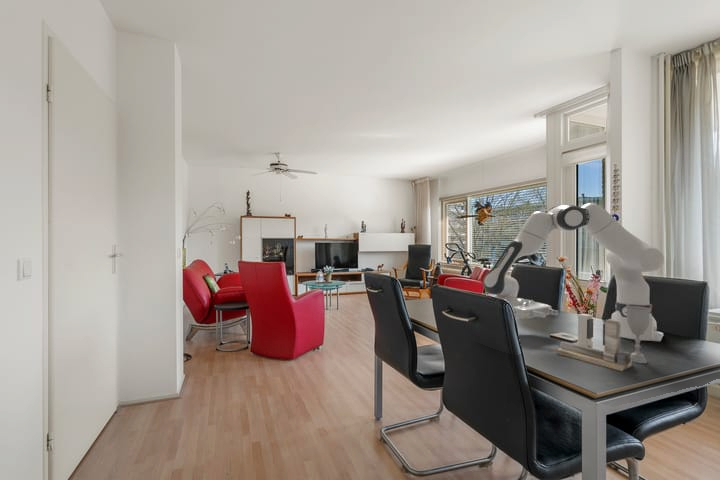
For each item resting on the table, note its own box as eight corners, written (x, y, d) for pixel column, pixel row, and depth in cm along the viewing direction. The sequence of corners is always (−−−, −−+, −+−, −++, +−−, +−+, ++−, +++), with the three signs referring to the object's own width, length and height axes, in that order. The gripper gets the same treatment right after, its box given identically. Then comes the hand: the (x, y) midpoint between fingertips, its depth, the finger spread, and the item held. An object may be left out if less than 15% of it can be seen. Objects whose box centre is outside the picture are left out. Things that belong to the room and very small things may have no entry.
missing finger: (583, 346, 134) (584, 313, 134) (594, 348, 131) (594, 314, 131) (576, 349, 131) (577, 314, 131) (587, 351, 128) (587, 316, 128)
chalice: (619, 357, 122) (619, 305, 122) (637, 356, 123) (638, 305, 123) (637, 364, 115) (637, 309, 115) (656, 364, 115) (657, 309, 115)
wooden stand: (567, 349, 130) (567, 310, 130) (631, 366, 113) (632, 321, 113) (556, 353, 125) (556, 313, 125) (621, 371, 109) (622, 324, 109)
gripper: (505, 302, 147) (537, 308, 136) (532, 299, 158) (563, 304, 147) (504, 317, 147) (537, 324, 136) (531, 313, 158) (563, 319, 147)
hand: (551, 314), depth 141 cm, fingers open, 8 cm apart
